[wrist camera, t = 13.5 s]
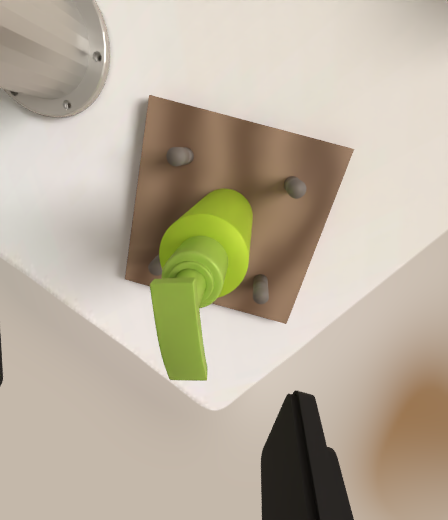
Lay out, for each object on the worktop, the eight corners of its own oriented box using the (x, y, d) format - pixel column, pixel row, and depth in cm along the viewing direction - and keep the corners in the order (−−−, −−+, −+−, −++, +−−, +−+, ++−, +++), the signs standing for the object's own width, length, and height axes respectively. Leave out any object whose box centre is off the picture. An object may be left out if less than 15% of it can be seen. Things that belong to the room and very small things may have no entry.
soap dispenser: (201, 253, 33) (127, 387, 14) (194, 190, 30) (93, 252, 12) (254, 251, 32) (248, 389, 13) (251, 186, 30) (238, 245, 11)
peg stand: (129, 274, 37) (108, 294, 31) (154, 97, 29) (132, 86, 24) (285, 317, 36) (289, 344, 31) (349, 149, 29) (368, 149, 24)
